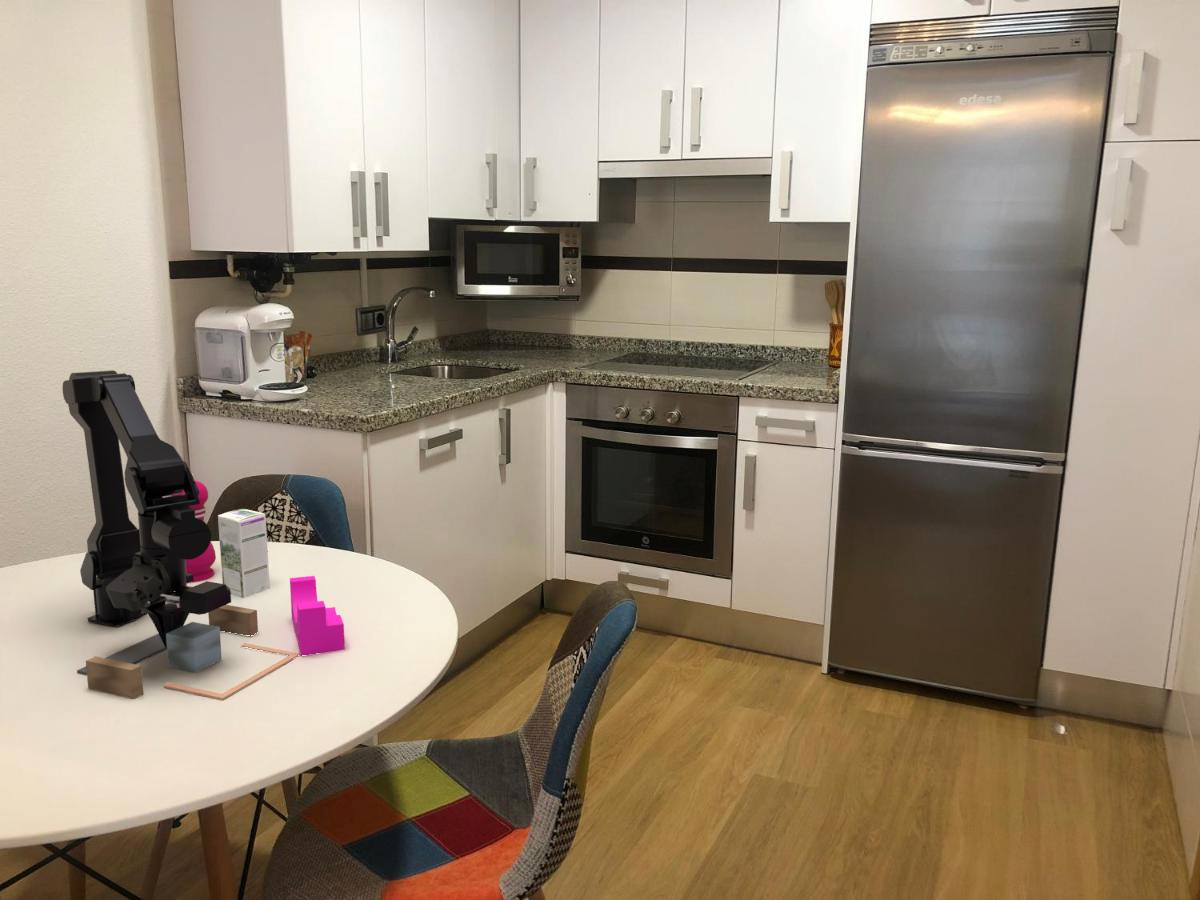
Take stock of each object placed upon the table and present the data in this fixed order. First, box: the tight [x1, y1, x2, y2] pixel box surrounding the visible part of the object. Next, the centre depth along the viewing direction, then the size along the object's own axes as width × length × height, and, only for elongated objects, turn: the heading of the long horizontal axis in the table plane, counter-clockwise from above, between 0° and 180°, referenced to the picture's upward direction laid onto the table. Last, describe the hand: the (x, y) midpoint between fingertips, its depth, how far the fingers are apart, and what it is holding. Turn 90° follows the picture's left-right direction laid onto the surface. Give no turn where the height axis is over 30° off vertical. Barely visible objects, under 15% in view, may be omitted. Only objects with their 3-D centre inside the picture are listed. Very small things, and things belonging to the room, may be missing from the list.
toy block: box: [289, 575, 346, 657], centre depth 150 cm, size 15×6×8 cm, turn 22°
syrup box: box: [217, 508, 271, 599], centre depth 167 cm, size 6×6×14 cm
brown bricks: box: [85, 604, 259, 700], centre depth 141 cm, size 8×24×4 cm, turn 159°
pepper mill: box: [170, 473, 217, 583], centre depth 173 cm, size 7×7×20 cm
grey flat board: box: [76, 632, 167, 676], centre depth 144 cm, size 5×18×1 cm, turn 159°
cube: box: [166, 621, 223, 674], centre depth 140 cm, size 5×5×5 cm
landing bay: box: [163, 643, 301, 701], centre depth 138 cm, size 10×16×1 cm, turn 159°
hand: (170, 647), depth 141 cm, fingers closed
